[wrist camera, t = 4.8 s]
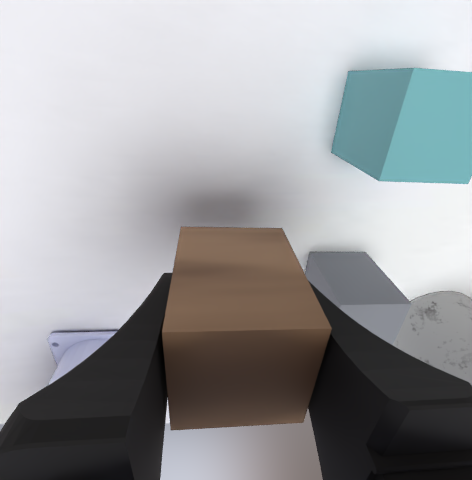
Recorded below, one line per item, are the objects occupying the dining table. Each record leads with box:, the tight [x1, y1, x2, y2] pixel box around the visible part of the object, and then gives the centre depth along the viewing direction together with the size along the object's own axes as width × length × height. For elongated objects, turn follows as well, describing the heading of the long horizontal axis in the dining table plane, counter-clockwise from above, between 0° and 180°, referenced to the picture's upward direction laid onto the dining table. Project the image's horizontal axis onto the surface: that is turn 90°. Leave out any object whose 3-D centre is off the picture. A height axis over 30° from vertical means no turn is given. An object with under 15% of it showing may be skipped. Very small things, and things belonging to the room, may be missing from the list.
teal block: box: [331, 68, 472, 184], centre depth 15 cm, size 4×4×6 cm
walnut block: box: [162, 227, 332, 430], centre depth 11 cm, size 4×4×6 cm
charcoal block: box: [305, 252, 412, 345], centre depth 21 cm, size 4×4×6 cm
